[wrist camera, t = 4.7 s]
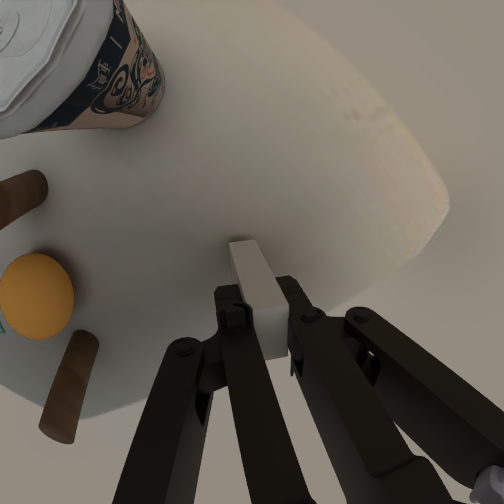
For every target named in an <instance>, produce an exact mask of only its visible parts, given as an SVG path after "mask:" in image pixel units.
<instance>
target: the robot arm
mask: <svg viewBox="0 0 504 504" xmlns="http://www.w3.org/2000/svg"><path fill="white" fill-rule="evenodd" d="M229 251H230V261H231V271H232V280H233V285H226V286H218V287H217V288H216V290H215V292H214V297H215V305H216V316H217V322H218V330H217V332H216V334H215V335H214V336H212V337H211V338H209V339H207V340H205V341H202V342H200V341H199V340H197V339H195V338H191V337H184V338H180V339H177V340H175V341H173V342H172V343H170V345H169V346H168V348H167V350H166V353H165V355H164V358H163V360H162V363H161V365H160V368H159V371H158V373H157V376H156V378H155V381H154V384H153V386H152V389H151V391H150V394H149V397H148V399H147V402H146V405H145V408H144V410H143V413H142V416H141V419H140V422H139V424H138V427H137V430H136V433H135V436H134V438H133V441H132V444H131V447H130V450H129V453H128V456H127V459H126V462H125V465H124V468H123V471H122V474H121V477H120V480H119V483H118V486H117V489H116V492H115V496H114V499H113V502H112V504H194V499H195V493H196V487H197V482H198V476H199V470H200V465H201V459H202V454H203V448H204V443H205V437H206V432H207V426H208V421H209V416H210V410H211V404H212V400H213V394H214V393H213V392H214V391H216V390H218V389H221V388H223V387H225V386H228V390H229V396H230V401H231V407H232V412H233V418H234V423H235V428H236V433H237V438H238V443H239V448H240V453H241V458H242V462H243V467H244V472H245V477H246V481H247V485H248V489H249V494H250V498H251V503H252V504H317V503H316V502H315V501H314V500H313V499H312V497H311V496H310V494H309V491H308V488H307V486H306V483H305V480H304V477H303V474H302V471H301V468H300V465H299V463H298V460H297V457H296V454H295V451H294V448H293V445H292V443H291V439H290V436H289V433H288V431H287V428H286V424H285V421H284V418H283V416H282V412H281V409H280V406H279V403H278V400H277V397H276V394H275V391H274V388H273V385H272V382H271V379H270V376H269V372H268V369H267V366H266V364H265V360H270V359H276V358H281V357H286V356H288V348H289V351H290V353H291V370H290V373H291V376H293V373H294V372H295V375H296V378H297V380H298V382H299V385H300V387H301V390H302V392H303V395H304V397H305V400H306V402H307V405H308V407H309V410H310V412H311V414H312V417H313V419H314V422H315V424H316V427H317V429H318V432H319V434H320V437H321V439H322V441H323V444H324V446H325V449H326V451H327V453H328V456H329V458H330V461H331V463H332V466H333V468H334V471H335V473H336V475H337V478H338V480H339V483H340V485H341V488H342V490H343V492H344V495H345V497H346V501H347V504H466V503H462V502H458V501H455V500H453V499H452V498H451V496H450V494H449V492H448V490H447V489H446V487H445V485H444V484H443V482H442V480H441V478H440V477H439V475H438V473H437V472H436V470H435V468H434V467H433V465H432V464H431V463H430V461H429V460H428V459H427V458H425V457H423V456H416V455H414V454H413V453H412V452H411V451H410V449H409V447H408V445H407V444H406V442H405V440H404V439H403V437H402V435H401V434H400V432H399V430H398V429H397V427H396V425H395V424H394V422H395V423H396V424H397V425H398V426H399V427H400V428H401V429H402V430H403V431H404V432H405V433H406V434H407V435H408V436H409V437H410V438H411V439H412V440H413V441H414V442H415V443H416V444H417V445H418V446H419V447H420V448H421V449H422V450H423V451H424V452H425V453H426V454H427V455H428V456H429V457H430V458H431V459H433V460H434V461H435V462H436V463H437V464H438V465H439V466H440V467H441V468H442V469H443V470H444V471H445V472H446V473H447V474H448V475H449V476H451V477H452V478H453V479H454V480H456V481H457V482H459V483H460V484H462V485H464V486H466V487H468V488H471V489H473V491H472V492H471V493H470V496H469V498H470V501H471V502H473V503H478V502H479V503H480V504H504V412H503V411H502V410H501V409H500V408H498V407H497V406H496V405H495V404H493V403H492V402H491V401H490V400H489V399H487V398H486V397H484V395H482V394H481V393H480V392H479V391H477V390H476V389H475V388H474V387H472V386H471V385H470V384H469V383H467V382H466V381H465V380H463V379H462V378H461V377H460V376H458V375H457V374H456V373H455V372H453V371H452V370H451V369H449V368H448V367H447V366H446V365H444V364H443V363H442V362H440V361H439V360H438V359H437V358H435V357H434V356H433V355H431V354H430V353H429V352H427V351H426V350H425V349H424V348H422V347H421V346H420V345H418V344H417V343H416V342H414V341H413V340H412V339H410V338H409V337H408V336H406V335H405V334H404V333H402V332H401V331H400V330H398V329H397V328H396V327H394V326H393V325H392V324H390V323H389V322H388V321H386V320H385V319H383V318H382V317H381V316H380V315H378V314H377V313H376V312H374V311H373V310H371V309H369V308H366V307H353V308H351V309H349V310H348V311H347V312H346V314H345V317H330V316H326V314H325V313H324V312H323V311H322V310H321V309H319V308H317V307H313V305H312V304H311V302H310V301H309V299H308V297H307V296H306V294H305V293H304V292H303V290H302V288H301V287H300V285H299V283H298V282H297V280H296V279H294V278H292V277H291V276H283V277H276V278H275V277H274V275H273V273H272V271H271V269H270V267H269V265H268V263H267V262H266V260H265V258H264V256H263V254H262V252H261V250H260V248H259V246H258V244H257V242H256V240H255V239H254V240H246V241H238V242H230V243H229ZM369 351H370V352H371V353H372V354H374V356H373V355H371V354H370V353H369ZM393 421H394V422H393Z"/></svg>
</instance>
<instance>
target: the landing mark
mask: <svg viewBox="0 0 504 504" xmlns="http://www.w3.org/2000/svg"><path fill="white" fill-rule="evenodd" d="M4 333H5V331H4V329H3V327H2V325H1V323H0V334H4Z"/></svg>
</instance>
